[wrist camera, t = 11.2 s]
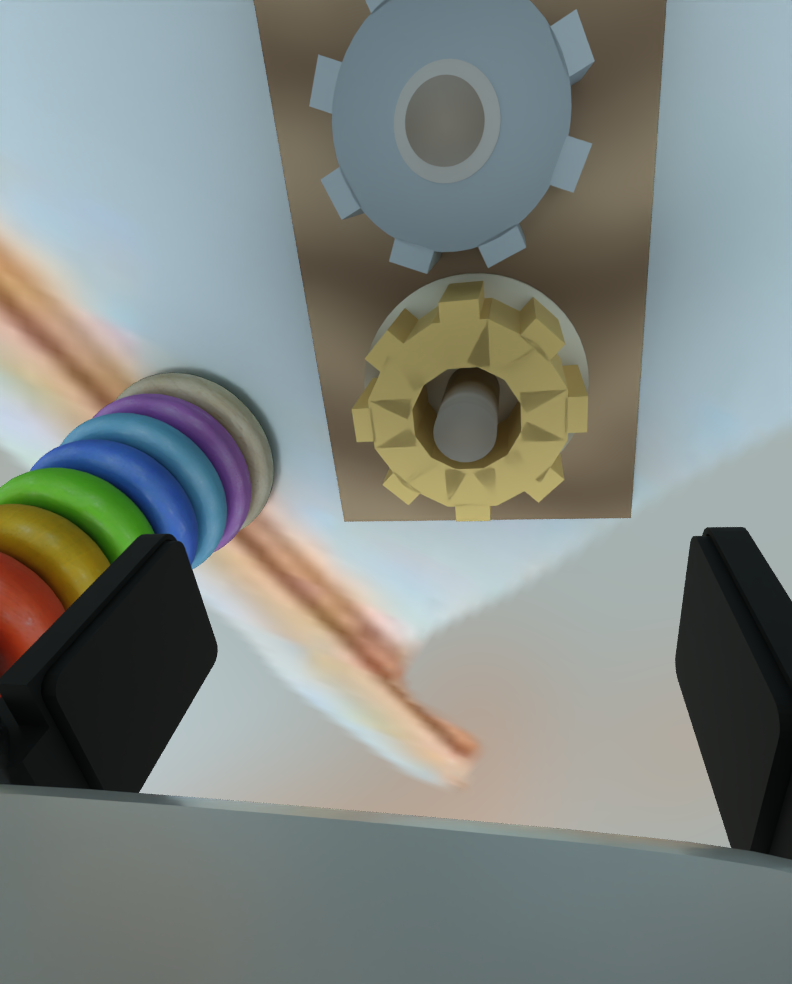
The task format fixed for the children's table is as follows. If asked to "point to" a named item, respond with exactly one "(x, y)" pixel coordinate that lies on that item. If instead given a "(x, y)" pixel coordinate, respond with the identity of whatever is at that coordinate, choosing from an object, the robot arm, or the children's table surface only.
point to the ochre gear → (498, 350)
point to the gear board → (513, 281)
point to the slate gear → (507, 131)
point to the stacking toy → (127, 495)
